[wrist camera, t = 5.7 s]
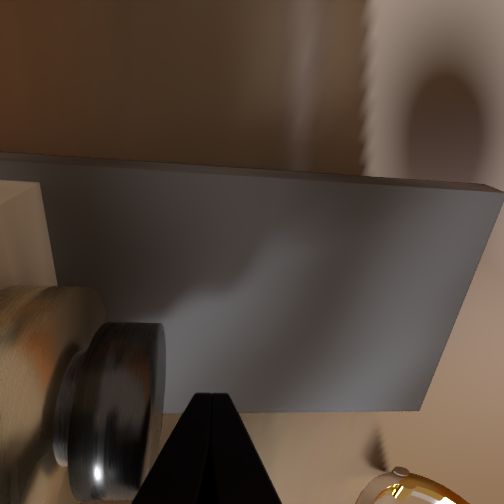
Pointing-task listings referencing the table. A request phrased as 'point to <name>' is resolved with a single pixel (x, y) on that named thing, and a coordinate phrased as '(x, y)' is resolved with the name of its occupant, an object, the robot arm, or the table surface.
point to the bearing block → (257, 271)
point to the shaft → (76, 397)
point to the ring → (407, 488)
